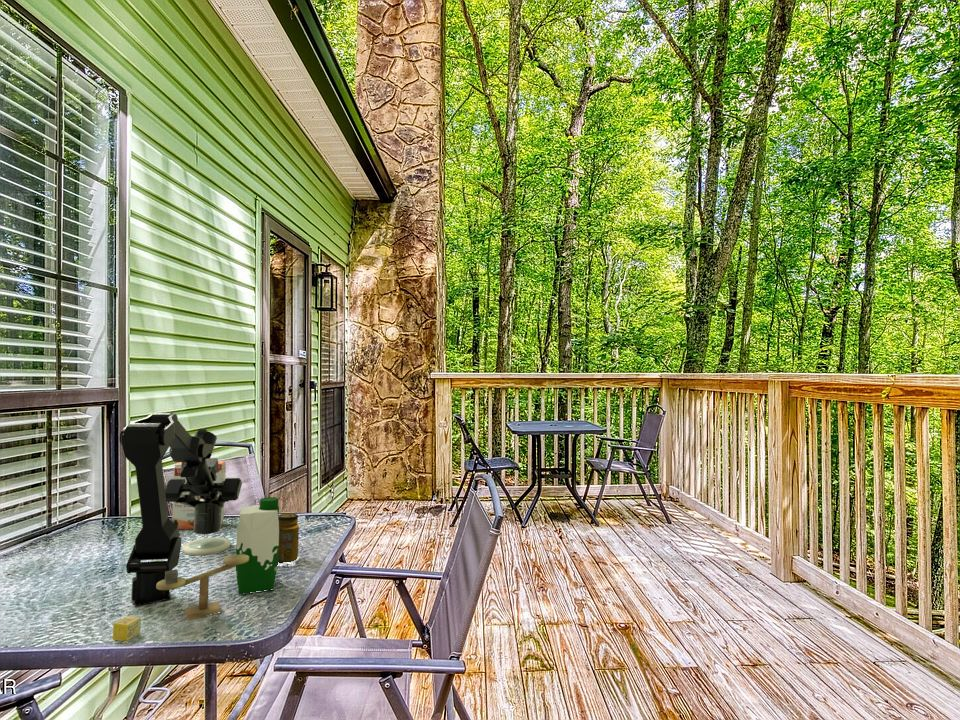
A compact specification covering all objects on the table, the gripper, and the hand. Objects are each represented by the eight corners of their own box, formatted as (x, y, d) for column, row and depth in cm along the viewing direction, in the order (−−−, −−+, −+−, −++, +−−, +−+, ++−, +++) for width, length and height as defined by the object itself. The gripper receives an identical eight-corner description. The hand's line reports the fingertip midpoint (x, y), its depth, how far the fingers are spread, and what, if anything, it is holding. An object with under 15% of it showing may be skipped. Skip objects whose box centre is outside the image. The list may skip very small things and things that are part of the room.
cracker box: (170, 530, 162) (173, 463, 163) (177, 525, 168) (179, 461, 169) (219, 528, 166) (221, 462, 167) (224, 523, 172) (226, 460, 172)
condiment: (303, 556, 141) (304, 512, 141) (292, 567, 132) (294, 520, 133) (275, 556, 140) (277, 511, 141) (263, 567, 132) (265, 520, 132)
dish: (226, 539, 154) (226, 534, 155) (234, 550, 145) (234, 545, 145) (180, 546, 147) (180, 541, 148) (185, 558, 138) (185, 552, 138)
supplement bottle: (209, 526, 151) (210, 485, 151) (226, 529, 148) (228, 487, 149) (188, 532, 144) (189, 489, 145) (205, 535, 142) (207, 491, 142)
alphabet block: (140, 633, 97) (141, 616, 97) (126, 641, 94) (127, 624, 94) (126, 632, 97) (126, 615, 97) (112, 640, 94) (112, 623, 94)
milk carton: (277, 591, 117) (280, 502, 118) (233, 597, 113) (236, 505, 114) (277, 578, 125) (279, 494, 126) (235, 582, 121) (239, 497, 122)
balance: (244, 599, 113) (246, 552, 113) (249, 607, 108) (251, 559, 109) (153, 618, 103) (155, 567, 103) (155, 628, 99) (157, 575, 99)
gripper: (241, 449, 145) (250, 482, 155) (169, 449, 142) (183, 483, 152) (232, 482, 137) (242, 515, 147) (155, 484, 134) (170, 516, 144)
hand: (209, 506), depth 148 cm, fingers closed on supplement bottle, 7 cm apart
